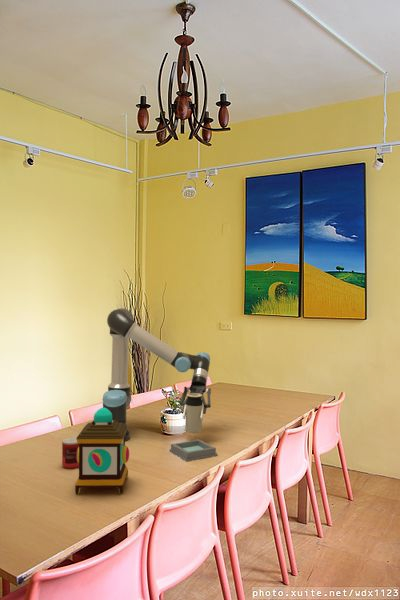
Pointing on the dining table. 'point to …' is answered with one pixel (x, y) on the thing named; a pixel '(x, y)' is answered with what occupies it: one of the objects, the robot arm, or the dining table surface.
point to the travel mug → (193, 413)
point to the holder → (193, 450)
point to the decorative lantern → (102, 453)
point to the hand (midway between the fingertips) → (192, 418)
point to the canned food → (69, 453)
